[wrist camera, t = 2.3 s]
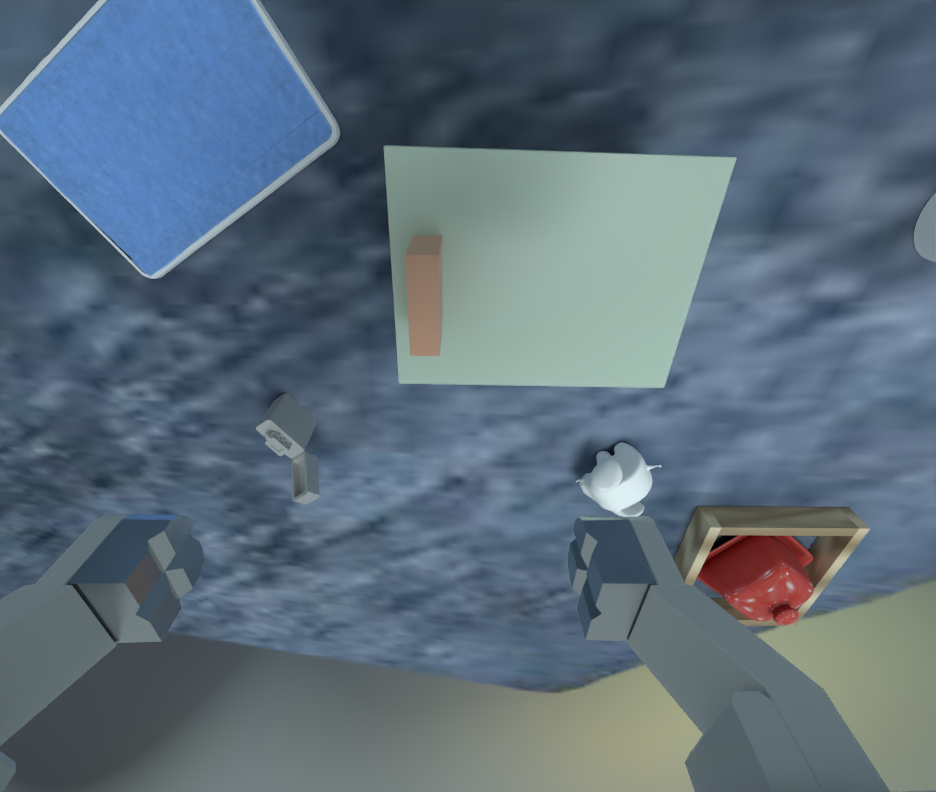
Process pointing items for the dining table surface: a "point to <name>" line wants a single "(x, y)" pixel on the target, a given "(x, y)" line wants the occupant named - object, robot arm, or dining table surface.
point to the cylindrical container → (926, 231)
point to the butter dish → (760, 576)
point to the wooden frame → (829, 523)
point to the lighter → (293, 444)
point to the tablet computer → (168, 121)
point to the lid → (546, 262)
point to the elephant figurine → (619, 481)
